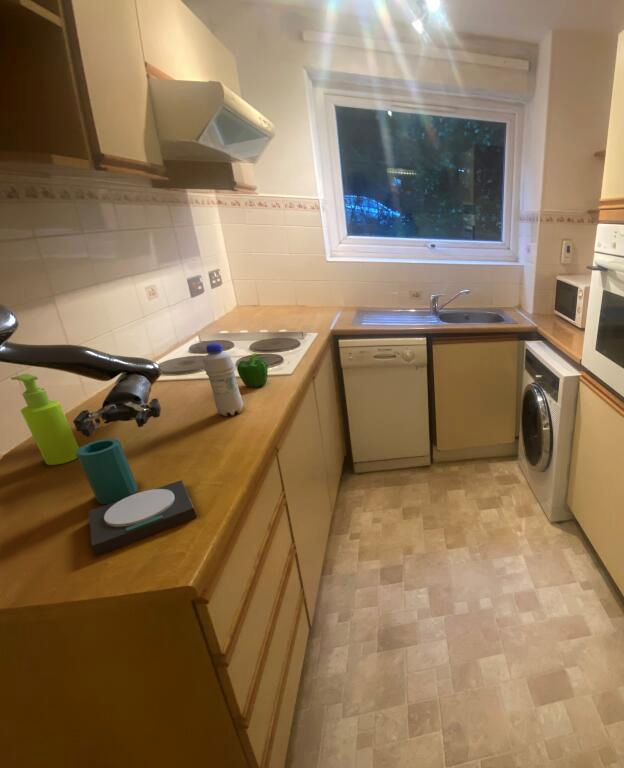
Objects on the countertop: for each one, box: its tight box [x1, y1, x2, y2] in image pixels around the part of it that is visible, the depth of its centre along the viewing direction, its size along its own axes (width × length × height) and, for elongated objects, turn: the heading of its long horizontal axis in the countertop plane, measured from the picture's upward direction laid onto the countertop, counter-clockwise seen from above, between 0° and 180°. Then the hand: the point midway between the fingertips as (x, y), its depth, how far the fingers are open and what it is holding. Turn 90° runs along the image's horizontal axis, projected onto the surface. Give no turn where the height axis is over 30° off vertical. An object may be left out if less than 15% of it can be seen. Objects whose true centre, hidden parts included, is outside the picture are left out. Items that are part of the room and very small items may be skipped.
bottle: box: [203, 342, 244, 417], centre depth 117 cm, size 7×7×20 cm
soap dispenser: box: [10, 373, 80, 466], centre depth 95 cm, size 6×7×20 cm
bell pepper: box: [237, 352, 269, 388], centre depth 137 cm, size 8×8×10 cm
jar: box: [76, 438, 139, 505], centre depth 84 cm, size 6×6×11 cm
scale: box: [88, 479, 198, 557], centre depth 79 cm, size 14×12×3 cm
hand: (113, 427), depth 92 cm, fingers open, 8 cm apart
